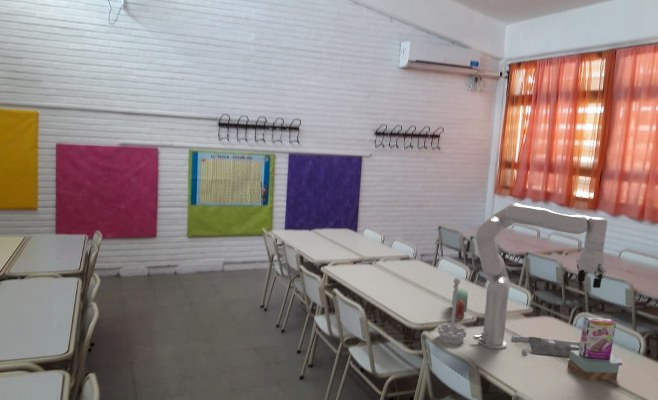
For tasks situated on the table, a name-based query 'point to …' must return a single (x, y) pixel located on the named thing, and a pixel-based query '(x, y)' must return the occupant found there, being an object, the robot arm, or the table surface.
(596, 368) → the tower top slab
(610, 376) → the tower base slab
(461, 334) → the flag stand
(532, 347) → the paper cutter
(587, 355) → the candy bar box
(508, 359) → the table surface
